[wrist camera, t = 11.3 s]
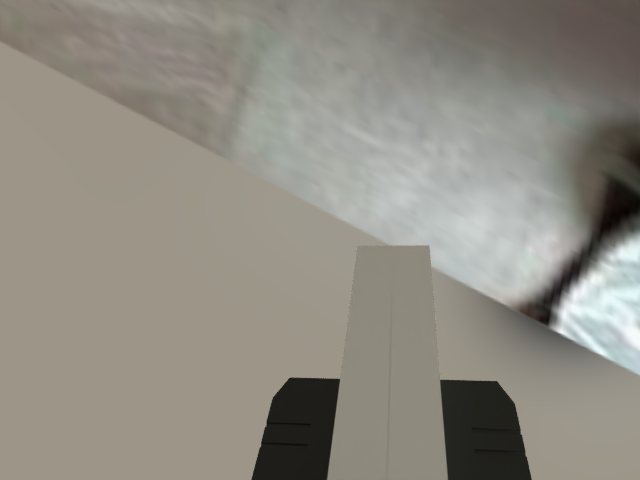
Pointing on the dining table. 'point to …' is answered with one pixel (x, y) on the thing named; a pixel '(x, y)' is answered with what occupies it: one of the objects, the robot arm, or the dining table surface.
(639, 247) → the dining table surface
